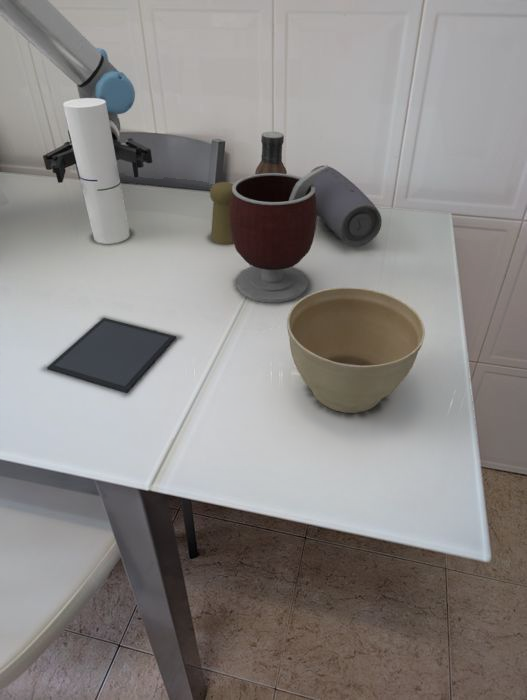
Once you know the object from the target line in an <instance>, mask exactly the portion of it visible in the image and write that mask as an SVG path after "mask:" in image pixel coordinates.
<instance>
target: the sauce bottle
mask: <svg viewBox="0 0 527 700" xmlns="http://www.w3.org/2000/svg"><path fill="white" fill-rule="evenodd" d="M284 137H285V136H284V134H283V133H282V132H281V131H275V130H273V131H265V132H262V133H261V137H260V138H261V139H260V141H261V155H260V156H261V161H260V162H259V164H257V165H258V166H257V167H256V169H255V172H254V175H257V174H265V173H280V174H288V172H287V169H286V167H285V164H284V163H283V145H284V142H285V141H284V140H285V138H284Z"/></svg>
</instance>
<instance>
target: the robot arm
mask: <svg viewBox="0 0 527 700" xmlns="http://www.w3.org/2000/svg"><path fill="white" fill-rule="evenodd" d="M0 17H1V18H2V19H4V21H5V22H7V24H9V25H10V26H11V27H12V28H14V30H16V31H17V32H18V33H19V34H20V35H21V36H23V37H24V38H25V40H26V41H28V43H30V44H31V45H32V46H33V47H34V48H36V49H37V50H38V51H39V52H40V53H41V54H42V55H43V56H44V57H45V58H46V59H48V60H49V61H50V62H51V63H52V64H53V65H54V66H55V67H56V68H58V69H59V70H60V71H61V72H62V73H63V74H64V75H66V76H67V78H69V80H71V81H72V82H73V83H74V84H75V85H76V87H77V93H78V96H79V99H81V98H98V99H103V100H105V101H106V106H107V112H108V117H109V123H110V128H111V134H112V139H113V145H114V150H115V156H116V161H119V160H120V161H124V162H127V163H131V165H132V171H133V177H134V178H139V168H144V165H145V164H144V163H147V164H152V163H153V156H152V149H151V148H149V147H147V146H145V145H142V144H141V143H139V142H136V141H135V140H134V138H131V137H129V138H127V139H126V140H125V142H121V141H120V134H121V123H120V122H121V121H120V117H119V115H122V114H126V113H127V112H128V111H130V109H132V107H133V105H134V102H135V100H136V99H135V98H136V91H135V88H134V85H133V83H132V81H131V79H129V77H127V75H125V73H123V72H122V71H119V69H117V68H116V67H115V66H114V65H113V64H112V63H111V62H110V61H109V57H108V53H107V51H106V50H105V49H104V48H101V47H95V46H94V45H93V44H92V43H91V41H89V40H88V39H87V38H86V36H84V35H83V34H82V33H81V32H80V31H79V30H78V28H77V27H75V26H74V25H73V24H72V23H71V22H70V20H68V19H67V18H66V17H65V15H63V13H61V12H60V10H58V9H57V7H55V6H54V4H52V3H51V1H49V0H0ZM42 159H43V164H44V168H45V170H46V171H52V173H53V174H55V177H56V181H57V184H60V183H63V182H64V178H65V175H66V169H67V168H69V167H72V166H74V165H77V163H76V159H75V154H74V150H73V146H72V141H65V142H64V143H63V144H62V145H60V146H59V147H56V148H55V149H53V150H51V151H49V152H48V153H45V154H43V155H42Z"/></svg>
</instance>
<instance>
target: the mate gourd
mask: <svg viewBox="0 0 527 700" xmlns="http://www.w3.org/2000/svg"><path fill="white" fill-rule="evenodd" d="M323 166H324V167H321V168H319V169H317V170H314V171H312V170H311V171H312V172H311V171H309V172H308V173H307V174H305V175H303V176H298V175H294V174H291V173H290V174H289V173H287V174H280V173H265V174H257V175H255V174H252V175H247V176H244V177H242V178H240V179H238V180H236V181H235V182H234V183H232V184H233V186H232V195H231V201H230V229H231V234H232V239H233V242H234V243H233V246H234V248H235V251H236V253H238V254H239V255H240V256H241V258H242V259H243V260H244V261H245V262H246V263H247V264H249V267H248V268H246V269H244V270H243V271H241V272H240V273H239V274H238V276H237V280H236V281H237V288H238V291H239V292H240V293H241V294H242V295H243V296H245V297H246V298H249V299H251V300H253V301H257V302H261V303H271V304H272V303H273V304H274V303H277V304H278V303H284V302H285V303H286V302H288V301H292V300H295V299H297V298H299V297H301V296H302V295H303V294H304V293H305V292H306V290H307V288H308V278H307V276H306V275H305V273H304V272H302V270H300V269H298V268H297V267H294V266H296V265H298V264H299V263H300V262H301V261H302V260H303V258H305V256H306V255H307V254H308V253H309V252H310V250H311V248H312V245H313V242H314V238H315V234H316V229H317V218H318V213H317V205H316V196H315V186H314V185H313V184H312V183H313V181H314V180H315V179H316V178H317V177H318V176H319V175H321V174H322V173H324V172H326V171H329V167H330V166H329V165H328V164H327V165H323ZM328 166H329V167H328Z"/></svg>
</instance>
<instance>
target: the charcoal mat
mask: <svg viewBox="0 0 527 700" xmlns="http://www.w3.org/2000/svg"><path fill="white" fill-rule="evenodd" d="M176 338H177V336H176V335H172V334H169V333H164V332H160V331H157V330H154V329H150V328H145V327H141V326H137V325H133V324H131V323H126V322H122V321H117V320H113V319H110V318H106V317H103V318H101V319H100V320H99V321H98V322H97V323H96V324H95V325H94V326H92V327H91V328H90V329H89V330H88V331H87V332H85V334H83V335H82V336H81V337H79V339H78V340H76V341H75V342H74V343H73V344H72V345H71V346H70V347H68V348H67V349H66V350H65V351H64V352H62V354H60V356H58V357H57V358H56V359H55V360H54V361H53V362H51V363H50V364H49V365H48V366H46V368H47V370H50V371H53V372H56V373H59V374H64V375H66V376H69V377H73V378H76V379H79V380H82V381H86V382H89V383H93V384H96V385H100V386H103V387H106V388H109V389H112V390H115V391H119V392H123V393H126V394H127V393H128V392H130V390H131V389H132V388H133V387H134V386H135V384H137V382H138V381H139V380H140V379H141V378H142V377H143V375H145V373H146V372H147V371H148V370H149V369H150V368H151V367H152V365H153V364H154V363H155V362H156V361H157V360H158V359H159V358H160V356H161V355H163V353H164V352H165V351H166V350H167V349H168V348H169V346H170V345H171V344H172V343H173V342H174V341H175V340H176Z"/></svg>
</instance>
